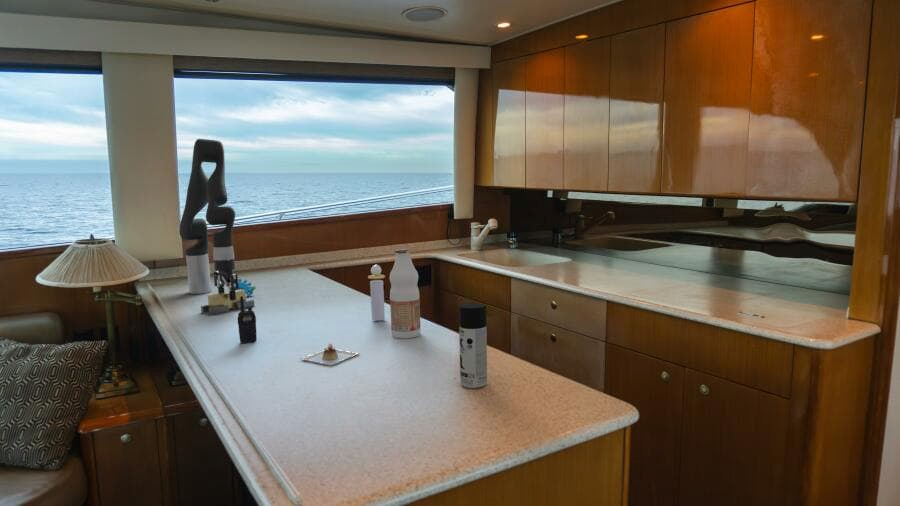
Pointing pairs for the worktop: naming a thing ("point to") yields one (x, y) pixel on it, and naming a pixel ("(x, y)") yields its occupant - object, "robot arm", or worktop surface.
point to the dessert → (329, 355)
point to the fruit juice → (404, 297)
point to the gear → (245, 287)
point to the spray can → (473, 345)
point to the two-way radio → (246, 324)
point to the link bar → (225, 299)
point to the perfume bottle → (377, 294)
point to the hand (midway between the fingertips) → (227, 298)
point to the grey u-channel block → (225, 308)
